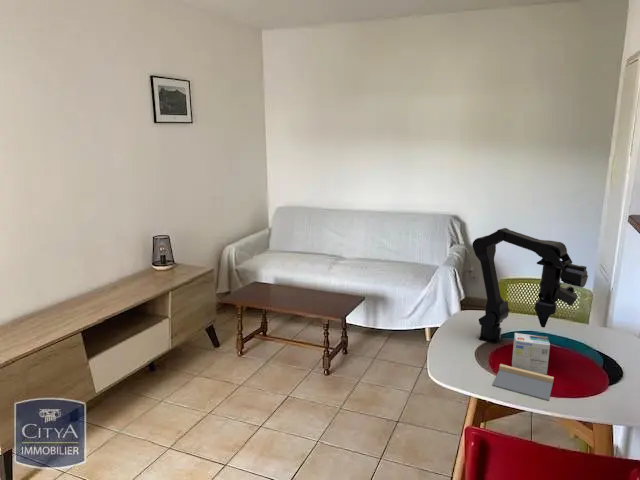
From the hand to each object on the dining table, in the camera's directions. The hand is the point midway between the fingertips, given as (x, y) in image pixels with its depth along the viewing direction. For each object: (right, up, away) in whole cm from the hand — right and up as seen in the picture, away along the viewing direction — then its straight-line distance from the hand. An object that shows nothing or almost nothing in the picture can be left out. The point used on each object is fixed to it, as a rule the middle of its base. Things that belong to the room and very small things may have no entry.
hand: (544, 322), depth 162 cm
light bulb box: (-7, -15, -5) cm, 17 cm away
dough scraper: (-14, -17, -15) cm, 26 cm away
